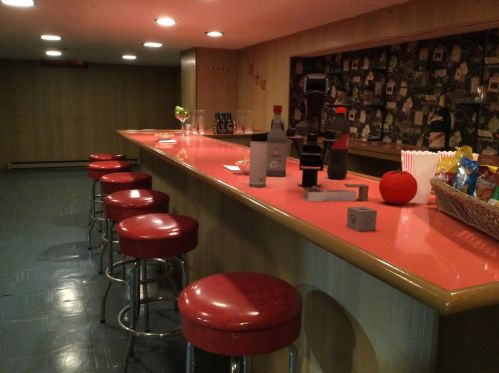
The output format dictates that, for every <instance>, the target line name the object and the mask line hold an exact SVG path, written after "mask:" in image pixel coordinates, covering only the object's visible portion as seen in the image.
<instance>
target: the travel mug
mask: <svg viewBox="0 0 499 373" xmlns="http://www.w3.org/2000/svg"><path fill="white" fill-rule="evenodd" d="M269 132H270V131H267V132H262V133H253V134H250V144H249V145H250V146H249V147H250V149H249V151H250V152H249V173H248V174H249V176H248V177H249V178H248V179H249V180H248V181H249V182H248V186H249V187H252V188H265V187H267V176H266V170H267V145H268V144H267V143H268V140H267V139H268V134H269Z"/></svg>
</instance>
